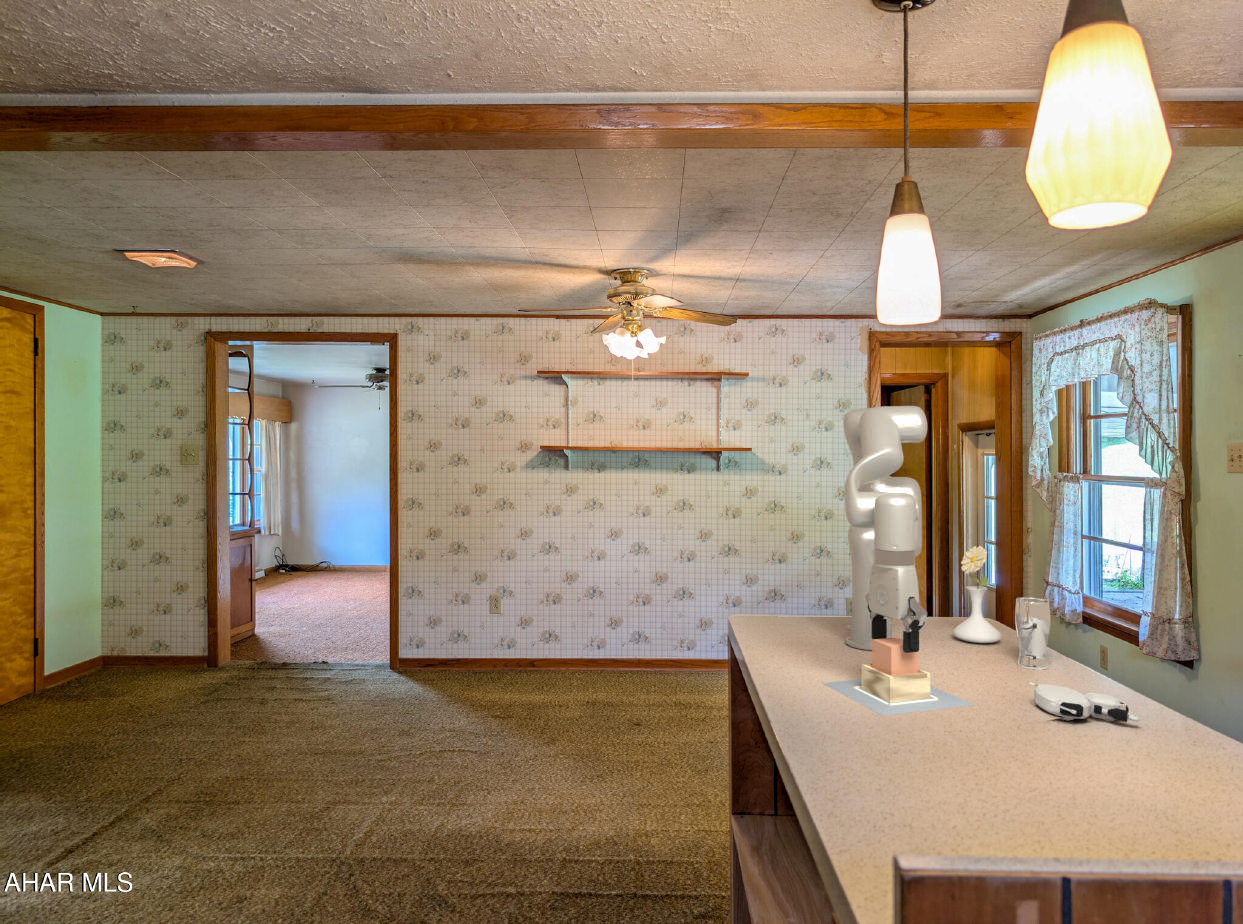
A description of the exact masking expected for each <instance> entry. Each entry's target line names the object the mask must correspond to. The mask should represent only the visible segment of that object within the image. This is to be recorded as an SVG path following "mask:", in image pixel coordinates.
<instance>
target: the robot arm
mask: <svg viewBox="0 0 1243 924" xmlns="http://www.w3.org/2000/svg"><path fill="white" fill-rule="evenodd" d="M842 425H843V433H844V437H845V440H846V443H847V446H848V448H849V450H850V453H851V457H852V460H853V461H852V462H853V467H852V468H851V470H849V472H848V474H847V476H846V478H845V482H844V490H843V491H844V507H845V516H846V519H847V522H848V523H849V525H850V526H849V527H848V531H847V541H848V546H849V553H850V562H851V563H850V564H851V619H852V620H851V623H850V624H847V625H846V629H847V630H849V631H850V636H847V637H846V638H845V643H846V645H847V644H848V646H849V647H852V648H856V649H859V650H865V651H872V640H873V639H885V638H893V620H894V621H901V623H902V626H903V628H904V630H905V631H904V630H903V631H902V639H903V651H904V652H905V653H910V652H918V653H919V651H920V632H921V631H922V629H923V627H924V625H925V623H926V622H925V621H926V619H927V616H928V612H927V610H926V609H925V608H924V607H923V605H921V604H920V591H919V581H918V574H917V569H916V558H917V557H918V556H920V554H921V552H922V547H923V511H922V510H923V502H922V489H921V487H920V484H919V483H918V481H917V480H916V479H914V478H912V477H908V476H891V475H893V474H894V473H895V472H897V471H899V469H900V468H901V467H902V465H903V463H904V457H905V455H904V452H903V445H902V444H904V443H905V444H907V443H911V444H913V443H916V444H918V443H919V444H920V443H922V442H923V441H924V440H925V438H926V437H927V434H928V420H927V417H926V414H925V412H924V410H923V409H922V407H920V406H916V405H899V406H898V405H893V406H892V405H890V406H888V405H887V406H886V405H884V406H875V407H865V408H857V409H856V408H855V409H851V410H849V411H848V412H846V413H845V414H844V417H843V422H842ZM909 621H911V623H910V622H909Z"/></svg>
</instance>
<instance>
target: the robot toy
mask: <svg viewBox="0 0 1243 924" xmlns="http://www.w3.org/2000/svg"><path fill="white" fill-rule="evenodd" d="M1029 685H1031V686H1034V690H1033V691H1034V693H1033V700H1034V701H1035V703H1036V704H1037V706H1039V707H1040V708H1041V709H1043V710H1044V711H1045V712H1047V713H1049V714H1053V715H1055V716H1057V717H1058V716H1060V717H1059V718H1058V719H1059V720H1061V721H1064V720H1066V721H1065V722H1069V721H1070V720H1071V721H1074V720H1075V719H1078V720H1079V719H1080V720H1082V719H1086V718H1088V717H1089V716H1091V717H1092V718H1094V719H1095V718H1096V719H1101V720H1103V721H1104V720H1105V722H1110V721H1111V723H1113V722H1114V721H1115V720H1116V721H1120V722H1124V723H1127V722H1128V720H1129V721H1131V722H1140V716H1138V715H1136V714H1129V711H1130V709H1129V706H1128V705H1127V703H1123V702H1124V701H1122V700H1120V699H1117V698H1115V697H1114V696H1112V695H1109V694H1106V693H1097V692H1096V693H1095V692H1086V694H1084V695H1083V694H1082V693H1081V692H1079V691H1077V690H1075V689H1073V688H1069V687H1066V686H1063V685H1062V686H1061V685H1054V684H1047V683H1040V684H1035V683H1034V682H1029Z"/></svg>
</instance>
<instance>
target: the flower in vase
mask: <svg viewBox="0 0 1243 924" xmlns="http://www.w3.org/2000/svg"><path fill="white" fill-rule="evenodd" d="M964 554H965V555H963V557H962V560H961V561H960V564H961V565H962V566H961V571H962V572H965V574H967V575H968V577H969V578H970V579H972V580H973V581H974V582H976V583H978V585H967V586H965V588H966V590H967V591H968V593H969V595H970V600H971V614H970V616H969V617H968V618H967V619H966V620H964V621H963V622H962V621H961V623H959V624H958V625H957V626H955V628H954V629H953V630H952V634H953V636H954V637H955V638H957V639H959V640H962V641H965V642H970V643H976V644H977V643H978V644H987V643H989V644H990V643H996V642H998V641H1000V640H1001V639H1002V638H1003V636H1002V635H1001V632H1000V631H999V630H998V629H997V628H996V627H995V626H994V625H992V624H991V623H990V622H988V620H987V619H985V617H984V616H983V612H982V607H983V606H982V603H983V598H984V595H985V593H986V592H987V590H988V587H986V586H990V583H989V580H988V576H984V573H983V570H982V567H983V566H984V563H986V561H987V556H988V555H987V554H988V551H987V550H986V549H985V548H983V546H981V545H979V546H976V545H975V546H973V547H972V548H970V549H969V550H968V551H965V552H964ZM979 570H980V573H981V574H980V575H981V577H980V579H978V578H977V577H975V576H974V575H973V574H972V573H976V572H977V571H979Z"/></svg>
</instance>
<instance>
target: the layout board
mask: <svg viewBox="0 0 1243 924" xmlns="http://www.w3.org/2000/svg"><path fill="white" fill-rule="evenodd" d="M822 684H823V685H824V686H827V688H828V687H829V688H831V689H832V690H834V691H836V692H838V693H839V694H841V695H843V696H845V697H848V698H849V699H851V700H852V701H855V702H857V703H859V704H860V705H863V706H864V707H866V708H868V709H870V710H871V711H873V712H875V713H878V714H879V715H882V716H883V717H886V716H893V715H903V714H912V713H918V712H920V713H921V712H927V711H935V710H944V709H945V710H946V709H952V708H961V707H969V706H976V703H972V702H971V701H968V700H965V699H963V698H961V697H958V696H956V695H954V694H951V693H949V692H947V691H944V690H942V689H939V688H938V687H935V686H932V685H930V698H929V699H920V700H911V701H902V702H893V703H890V702H887V701H885V700H883V699H881V698H879V697H877V696H875V695H873V694H871V693H869V692H867V691H865V690H863V689H862V688H861V678H858V679H849V680H840V681H830V682H828V681H827V682H822Z"/></svg>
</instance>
